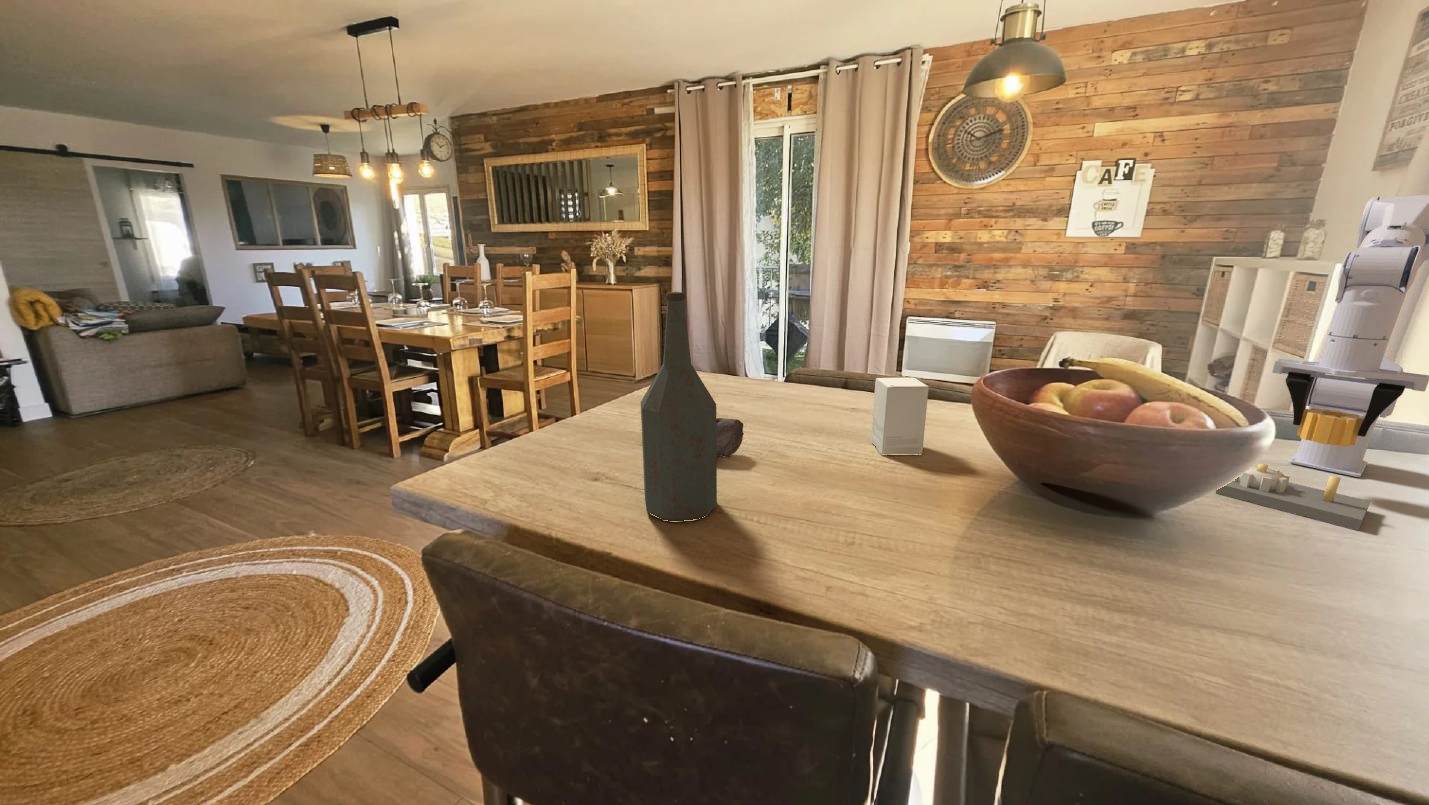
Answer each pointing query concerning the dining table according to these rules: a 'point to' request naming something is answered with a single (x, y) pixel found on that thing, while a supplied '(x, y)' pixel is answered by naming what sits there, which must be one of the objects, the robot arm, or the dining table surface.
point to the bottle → (678, 430)
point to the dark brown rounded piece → (728, 436)
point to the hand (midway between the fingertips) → (1328, 429)
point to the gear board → (1297, 497)
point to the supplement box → (899, 415)
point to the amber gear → (1330, 427)
